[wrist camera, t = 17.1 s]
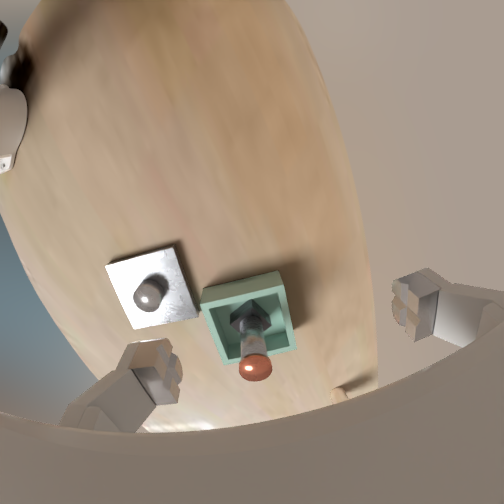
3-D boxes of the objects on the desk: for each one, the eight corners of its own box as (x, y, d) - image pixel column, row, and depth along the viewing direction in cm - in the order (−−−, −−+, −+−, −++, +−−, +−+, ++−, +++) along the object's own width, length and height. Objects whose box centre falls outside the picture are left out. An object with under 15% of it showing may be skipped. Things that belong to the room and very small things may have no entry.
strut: (248, 330, 44) (253, 387, 32) (230, 314, 43) (229, 369, 31) (269, 315, 44) (281, 370, 31) (251, 297, 42) (257, 351, 30)
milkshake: (321, 399, 53) (332, 433, 44) (333, 383, 52) (347, 418, 43) (336, 401, 54) (349, 433, 45) (349, 386, 53) (364, 418, 43)
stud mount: (136, 324, 44) (129, 337, 40) (109, 262, 40) (98, 272, 36) (199, 312, 44) (196, 325, 40) (174, 244, 40) (169, 253, 36)
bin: (224, 346, 47) (224, 365, 42) (203, 288, 43) (199, 304, 38) (291, 331, 46) (296, 349, 42) (278, 270, 42) (283, 284, 38)
